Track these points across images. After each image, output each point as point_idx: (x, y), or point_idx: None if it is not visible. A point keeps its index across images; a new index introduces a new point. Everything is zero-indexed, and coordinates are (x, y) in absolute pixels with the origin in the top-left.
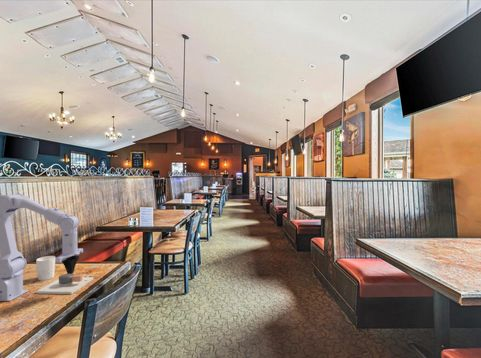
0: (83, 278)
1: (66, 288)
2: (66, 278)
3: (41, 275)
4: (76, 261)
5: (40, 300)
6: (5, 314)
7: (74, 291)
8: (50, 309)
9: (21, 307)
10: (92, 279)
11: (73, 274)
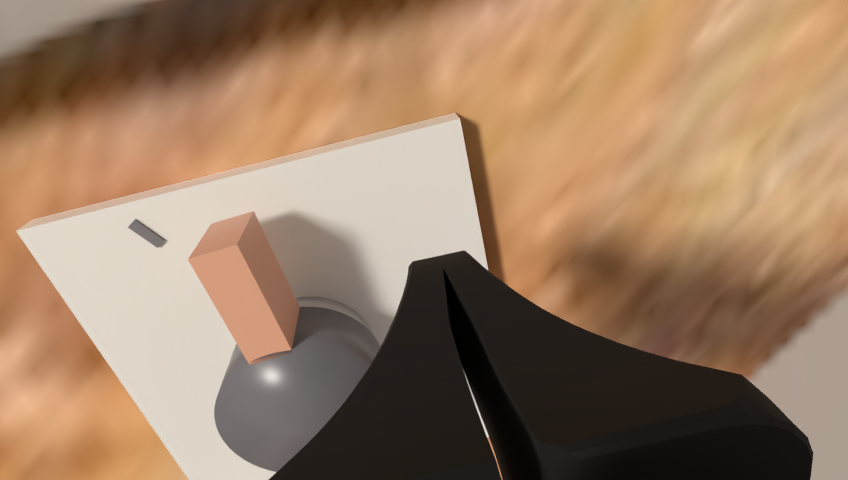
0: (117, 310)
1: (404, 250)
2: (354, 358)
3: None
4: (380, 397)
5: (620, 276)
6: (834, 297)
7: (405, 127)
8: (793, 11)
9: (737, 297)
10: (47, 216)
11: (230, 383)
